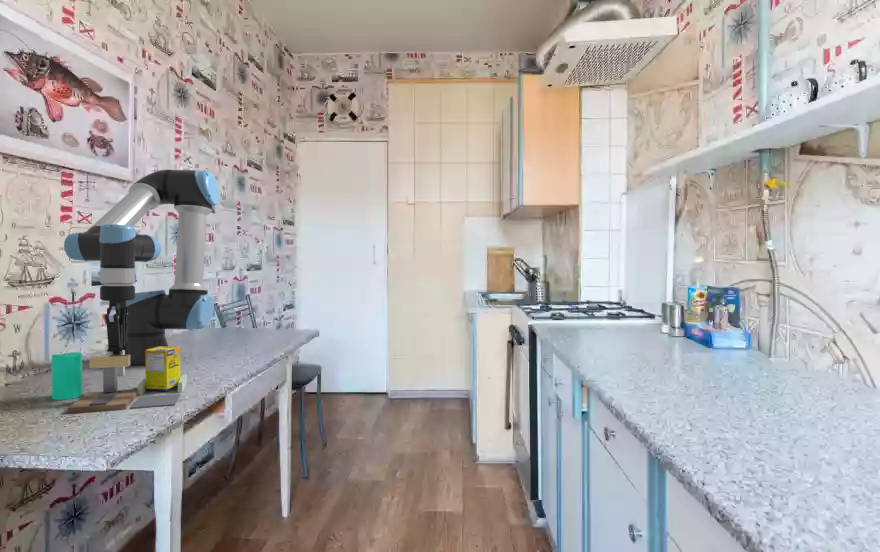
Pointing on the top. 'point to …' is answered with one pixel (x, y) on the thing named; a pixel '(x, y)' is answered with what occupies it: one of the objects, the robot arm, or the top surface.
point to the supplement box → (162, 368)
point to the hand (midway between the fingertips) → (118, 375)
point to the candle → (66, 375)
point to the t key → (109, 368)
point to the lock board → (103, 401)
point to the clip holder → (181, 385)
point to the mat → (156, 401)
